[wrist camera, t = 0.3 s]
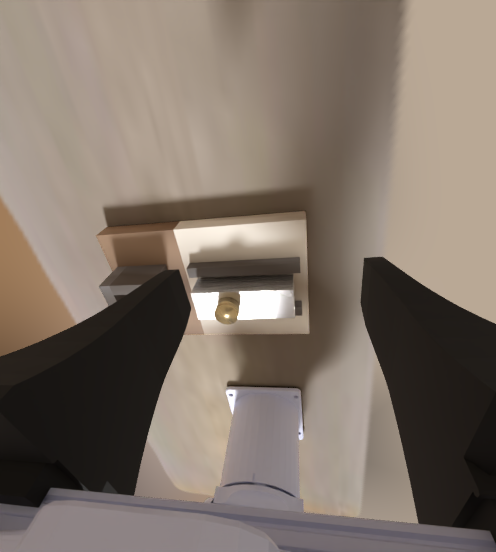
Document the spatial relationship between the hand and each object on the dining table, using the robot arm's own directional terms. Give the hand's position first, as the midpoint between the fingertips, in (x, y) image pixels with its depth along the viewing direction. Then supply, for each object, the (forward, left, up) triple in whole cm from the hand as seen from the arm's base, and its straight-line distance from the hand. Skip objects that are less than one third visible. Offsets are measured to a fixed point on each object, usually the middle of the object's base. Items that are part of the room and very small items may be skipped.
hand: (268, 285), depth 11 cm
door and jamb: (-6, +6, -10) cm, 13 cm away
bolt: (-6, +3, -8) cm, 10 cm away
